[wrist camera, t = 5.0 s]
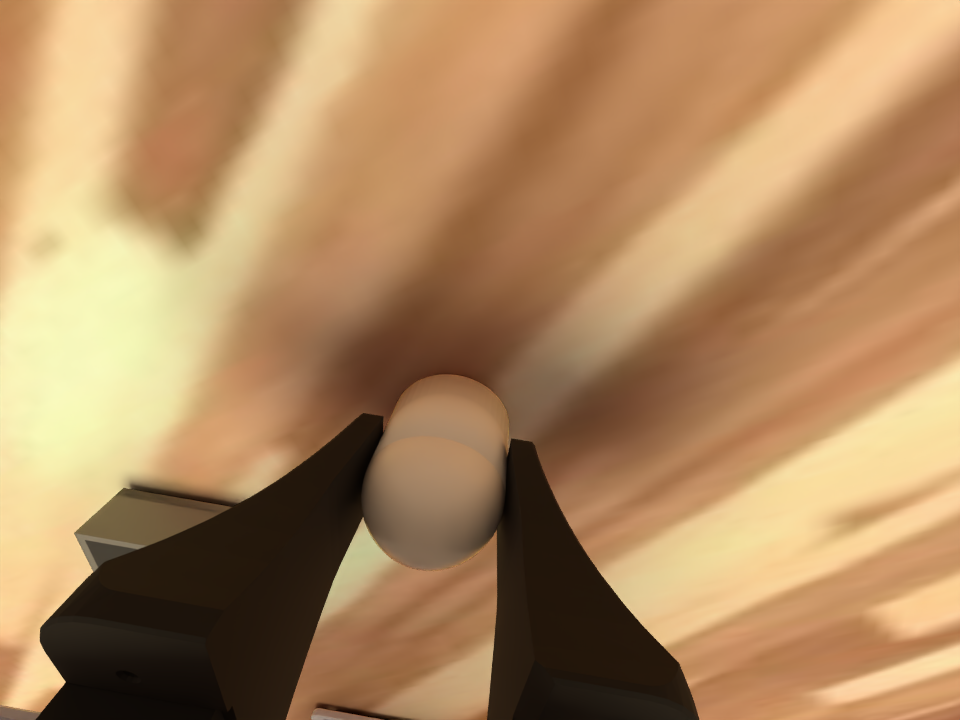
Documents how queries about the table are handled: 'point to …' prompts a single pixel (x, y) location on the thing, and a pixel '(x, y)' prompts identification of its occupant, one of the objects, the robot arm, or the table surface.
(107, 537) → the egg carton
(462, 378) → the cream rounded cylinder
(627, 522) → the table surface
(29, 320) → the table surface
